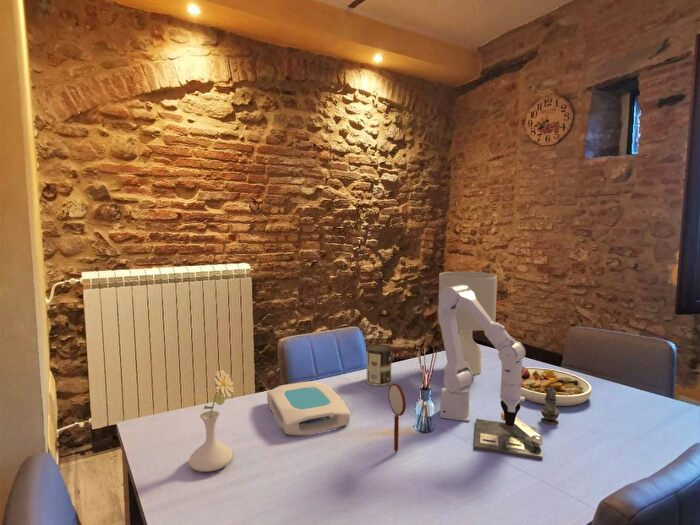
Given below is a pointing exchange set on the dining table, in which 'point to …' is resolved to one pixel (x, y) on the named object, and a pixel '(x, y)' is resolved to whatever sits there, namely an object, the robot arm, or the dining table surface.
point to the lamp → (466, 323)
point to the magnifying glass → (396, 408)
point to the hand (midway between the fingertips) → (509, 425)
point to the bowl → (553, 386)
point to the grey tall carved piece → (550, 408)
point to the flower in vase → (213, 432)
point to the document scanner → (307, 408)
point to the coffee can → (379, 365)
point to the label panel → (504, 440)
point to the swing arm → (526, 431)
